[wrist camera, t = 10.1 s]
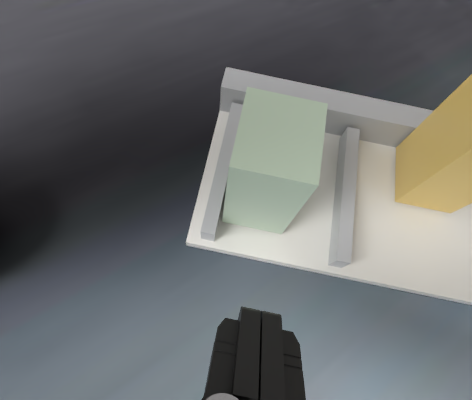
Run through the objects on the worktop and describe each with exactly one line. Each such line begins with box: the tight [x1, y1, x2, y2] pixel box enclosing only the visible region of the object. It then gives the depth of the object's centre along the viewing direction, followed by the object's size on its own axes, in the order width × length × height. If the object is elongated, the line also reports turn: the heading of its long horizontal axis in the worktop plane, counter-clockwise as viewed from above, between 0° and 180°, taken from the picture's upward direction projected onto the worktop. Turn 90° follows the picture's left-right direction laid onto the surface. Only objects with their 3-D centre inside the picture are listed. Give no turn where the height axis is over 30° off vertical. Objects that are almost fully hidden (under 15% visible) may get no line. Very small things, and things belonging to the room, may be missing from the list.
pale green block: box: [222, 87, 328, 234], centre depth 22 cm, size 5×4×9 cm
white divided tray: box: [186, 67, 472, 305], centre depth 26 cm, size 14×35×4 cm, turn 79°
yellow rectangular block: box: [395, 74, 472, 213], centre depth 23 cm, size 5×4×9 cm
